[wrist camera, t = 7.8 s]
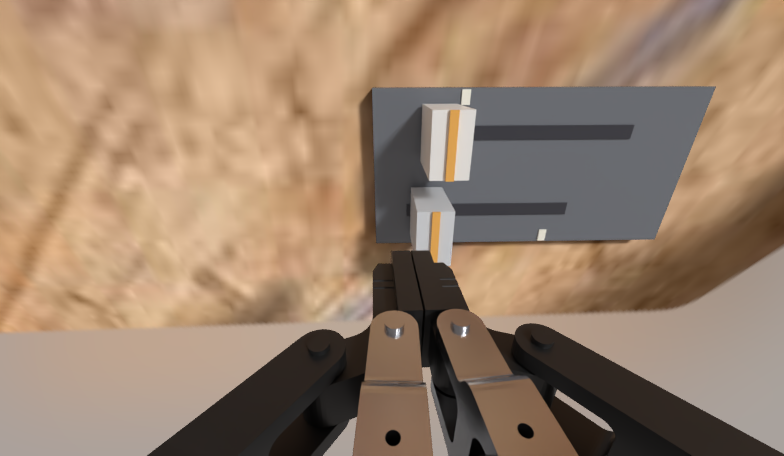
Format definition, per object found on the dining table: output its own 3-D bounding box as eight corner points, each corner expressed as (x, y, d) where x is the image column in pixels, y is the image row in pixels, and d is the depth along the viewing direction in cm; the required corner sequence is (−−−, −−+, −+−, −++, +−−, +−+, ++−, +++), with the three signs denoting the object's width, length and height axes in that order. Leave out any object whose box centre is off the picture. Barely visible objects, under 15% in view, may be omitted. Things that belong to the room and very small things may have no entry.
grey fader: (441, 187, 24) (456, 212, 19) (438, 233, 26) (451, 267, 21) (410, 187, 24) (417, 213, 19) (409, 233, 26) (415, 267, 21)
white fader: (457, 103, 22) (477, 109, 17) (452, 161, 23) (469, 181, 19) (422, 103, 21) (433, 110, 17) (420, 161, 23) (429, 181, 18)
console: (696, 86, 23) (717, 86, 22) (641, 231, 28) (655, 239, 27) (372, 87, 23) (371, 88, 21) (376, 235, 28) (376, 243, 26)
